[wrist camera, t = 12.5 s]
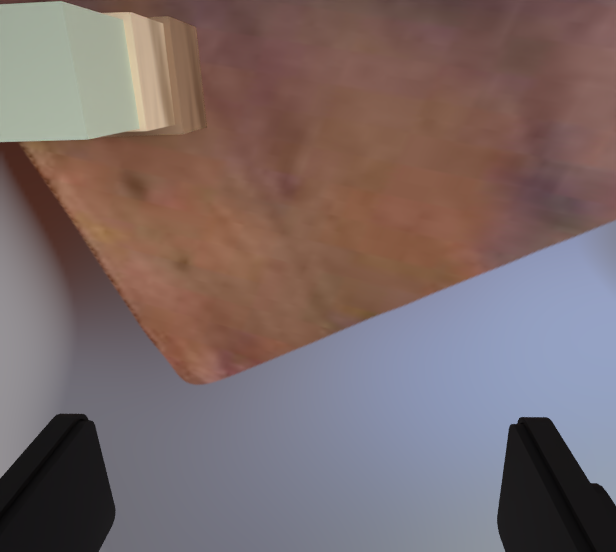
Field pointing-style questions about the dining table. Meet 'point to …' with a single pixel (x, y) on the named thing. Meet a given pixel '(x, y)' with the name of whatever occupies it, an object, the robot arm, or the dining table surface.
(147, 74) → the beech block
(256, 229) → the dining table surface
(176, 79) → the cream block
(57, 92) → the sage block
